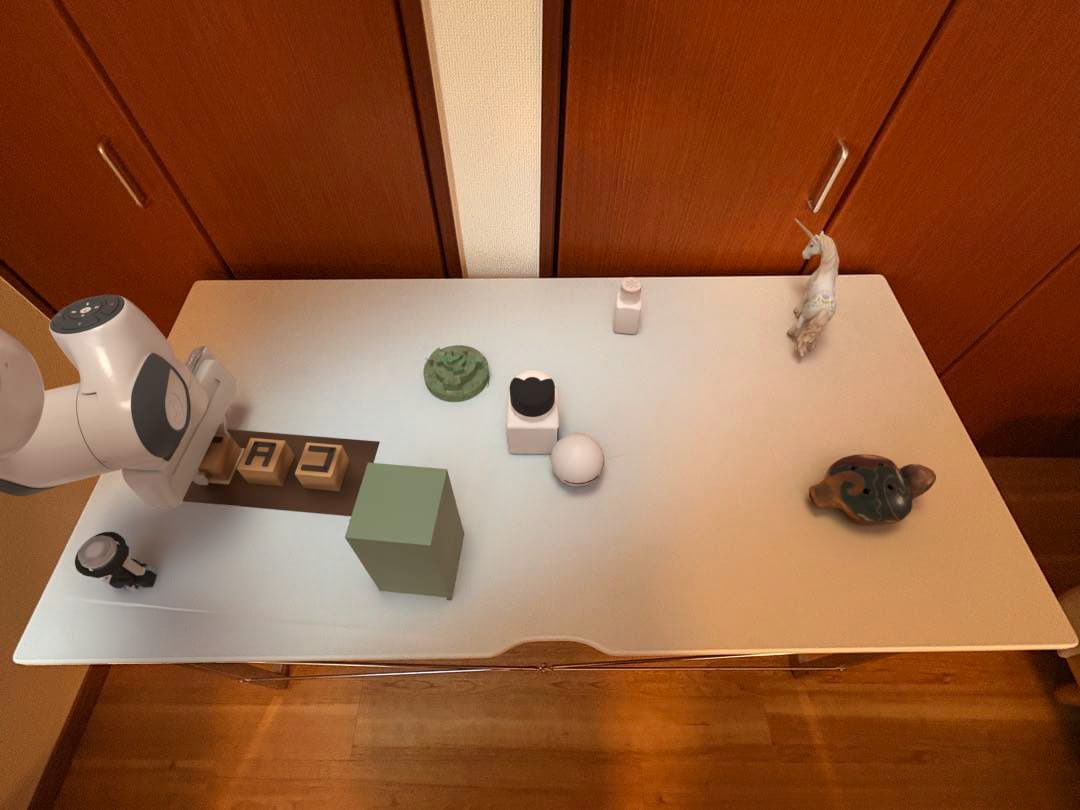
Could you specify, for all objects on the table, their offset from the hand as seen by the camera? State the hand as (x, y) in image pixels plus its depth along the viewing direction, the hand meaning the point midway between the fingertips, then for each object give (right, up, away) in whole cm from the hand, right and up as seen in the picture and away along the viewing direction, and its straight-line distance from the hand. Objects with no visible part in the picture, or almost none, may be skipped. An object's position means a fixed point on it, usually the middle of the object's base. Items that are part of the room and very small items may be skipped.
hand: (214, 460), depth 86 cm
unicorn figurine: (+87, +22, +18) cm, 92 cm away
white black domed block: (+45, +3, +5) cm, 45 cm away
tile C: (+16, -2, 0) cm, 16 cm away
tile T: (0, -1, +1) cm, 1 cm away
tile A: (+8, -1, 0) cm, 8 cm away
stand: (+31, -13, -7) cm, 34 cm away
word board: (+8, -2, +1) cm, 8 cm away
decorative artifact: (+33, +12, +11) cm, 36 cm away
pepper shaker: (+60, +21, +17) cm, 66 cm away
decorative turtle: (+89, -6, -3) cm, 89 cm away
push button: (-6, -15, -8) cm, 18 cm away
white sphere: (+52, -2, +1) cm, 52 cm away
